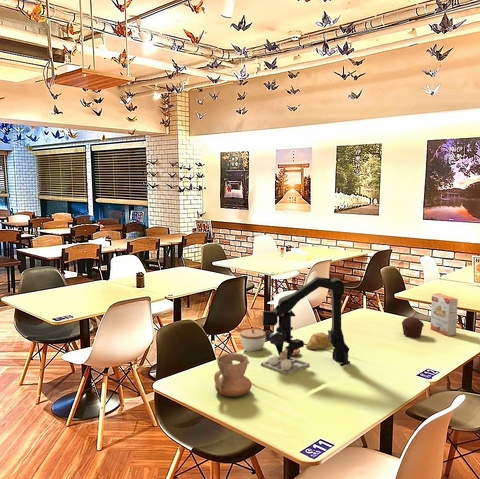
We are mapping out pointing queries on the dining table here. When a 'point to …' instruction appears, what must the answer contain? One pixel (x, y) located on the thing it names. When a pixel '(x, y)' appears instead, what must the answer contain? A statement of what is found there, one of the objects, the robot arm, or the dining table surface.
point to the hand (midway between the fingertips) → (284, 358)
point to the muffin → (412, 327)
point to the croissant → (318, 341)
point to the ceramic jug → (232, 375)
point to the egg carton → (295, 367)
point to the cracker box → (444, 314)
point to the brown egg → (283, 355)
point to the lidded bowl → (252, 339)
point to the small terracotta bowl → (294, 351)
